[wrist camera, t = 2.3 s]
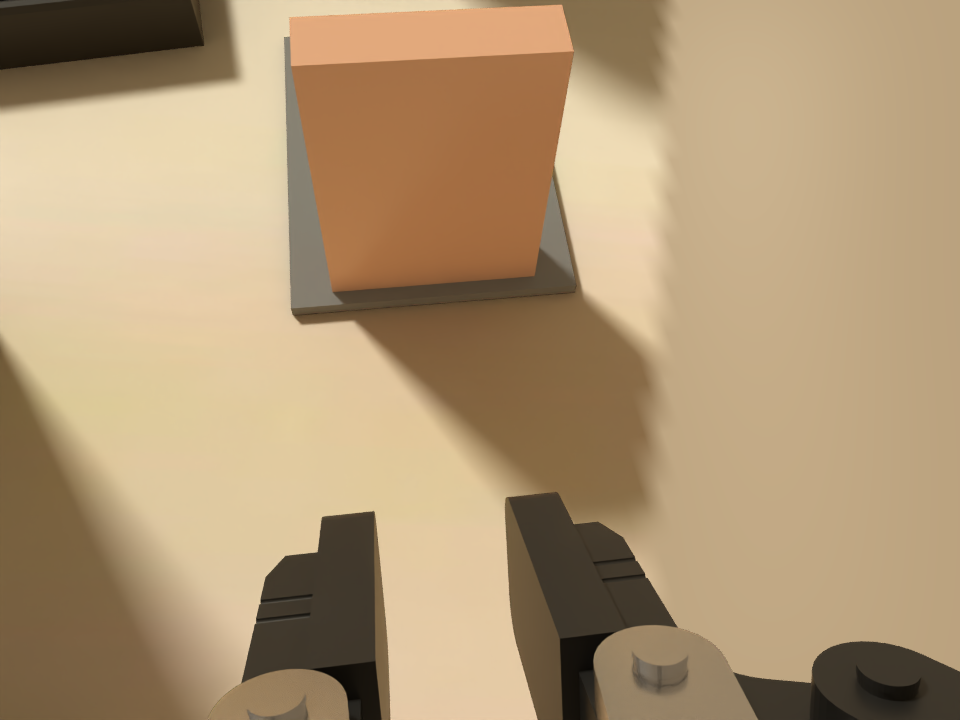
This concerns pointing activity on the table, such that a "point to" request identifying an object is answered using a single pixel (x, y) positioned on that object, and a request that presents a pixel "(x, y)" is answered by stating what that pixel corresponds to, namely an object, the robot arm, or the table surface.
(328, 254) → the tile
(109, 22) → the food platter
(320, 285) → the mat
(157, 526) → the table surface
